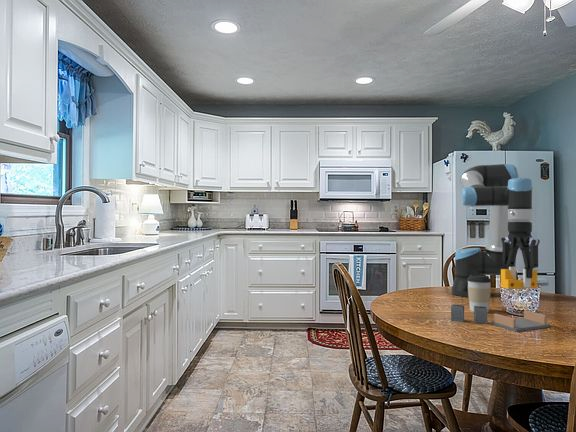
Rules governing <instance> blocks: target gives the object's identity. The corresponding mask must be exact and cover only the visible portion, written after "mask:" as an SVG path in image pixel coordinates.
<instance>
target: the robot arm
mask: <svg viewBox="0 0 576 432" xmlns="http://www.w3.org/2000/svg"><path fill="white" fill-rule="evenodd" d="M459 180H460V185H461V187H462V190H461V202H462V205H463V206H466V207H467V206H468V207H487V206H488V207H489V239H488V245H486V246H485V249H484V250H482V249H481V248H480V247H469V248H461V249H457V250H456V251H455V256H454V280H453V284H452V287H451V288H450V289H451V290H450V292H451V295H455V296H459V297H464V298H465V297H466V298H469V296H468V280H467V278H468V277H470V275H475V274H483V275H485V276H488V275H489V276H500V277H501V269H508V270H511V275H512V277H513V278H514V279H516V280H517V266H516V265H517V255H518V250H520V251H521V255H522V259H523V263H524V267H523V268H522V279H523V287H525V288H526V287H531V278H532V269H533V270H534V269H535V268H538V267H539V245H540V241H541V240H540V239H536V238H534V237H533V236H532V234H531V233H532V232H533V223H532V221H533V204H532V202H533V188H534V187H533V181H532V179H531V178H530V177H520V176H519V172H518V169H517V167H516V165H515V164H509V163H508V164H506V163H503V164H485V165H484V164H480V165H475V166H473V167H469V168H468V169H466V170H464V172H462V174H461V176H460V179H459ZM526 289H527V288H526Z"/></svg>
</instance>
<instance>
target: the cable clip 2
mask: <svg viewBox="0 0 576 432" xmlns="http://www.w3.org/2000/svg"><path fill="white" fill-rule="evenodd" d="M473 313H474V314H473V321H474V323H475V324H480V325H481V324H485V325H488V312H487V308H486V307H482V306H474V312H473Z"/></svg>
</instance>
